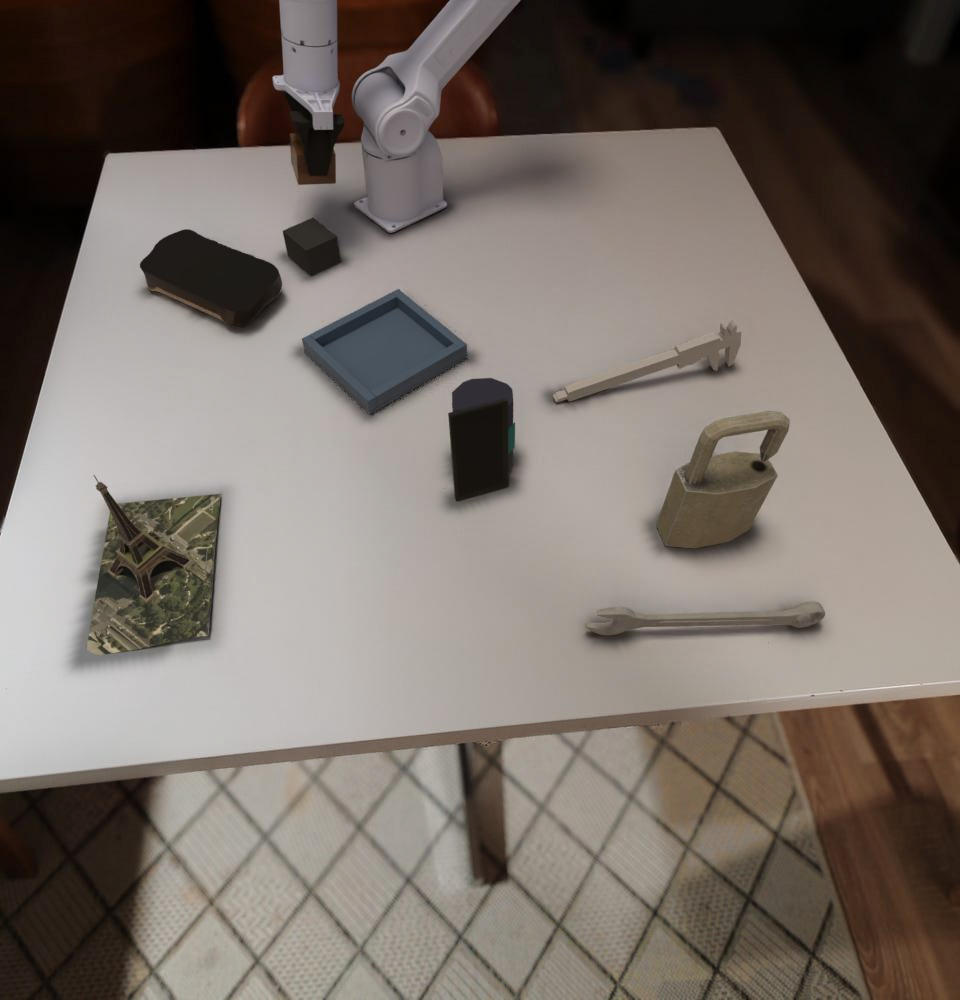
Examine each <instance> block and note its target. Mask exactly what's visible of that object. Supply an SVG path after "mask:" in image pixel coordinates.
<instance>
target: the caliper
mask: <svg viewBox="0 0 960 1000" xmlns="http://www.w3.org/2000/svg"><path fill="white" fill-rule="evenodd" d="M741 344H742V330H741V329H740V328H739V326H738V324H737V323H736V322H735V320H734V319H733V318H731V319H730V321H729V322H728V324H727V326H725V325H724V324H723V323H722V322H720V325H719V331H718V333H717V332H716V331H714V332H710V333H708V334H705V335H702V336H699V337H696V338H694V339H691V340H688V341H684V342H682V343H680V344H676V345H675V346H674V348H672V349H669V350H667V351H664V352H661V353H658V354H655V355H652V356H649V357H646V358H644V359H640V360H638V361H635V362H631V363H628V364H626V365H623V366H619V367H616V368H614V369H612V370H611V369H610V370H608V371H605V372H602V373H599V374H596V375H593V376H591V377H588V378H584V379H581V380H579V381H576V382H572V383H570V384H567V385H564V388H563V389H561V390H559V391H556V392H555V393H553V394H552V398H553V399H554V401H555V403H560V402H563V401H566V400H567V401H568V402H572V401H575V400H578V399H581V398H585V397H587V396H590V395H593V394H595V393H598V392H602V391H605V390H608V389H610V388H613V387H616V386H619V385H621V384H624V383H628V382H630V381H633V380H636V379H640V378H643V377H645V376H648V375H651V374H654V373H657V372H660V371H663V370H666V369H669V368H672V367H675V366H676V367H677V368H678V369H679V370H681V369H683V368H685V367H687V366H692V365H695V364H696V363H698V362H700V361H701V360H703V359H705V358H706V359H707V362H708V364H709V366H710V367H711V369H712V370H713V371H715V372H716V371H717V372H718V370H719V364H720V351H721V350H724V362H725V364H726V365H727V366H728V367H732V365H733V364H734V363H735V360H736V358H737V356H738V353H739V350H740V348H741Z"/></svg>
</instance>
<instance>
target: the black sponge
mask: <svg viewBox="0 0 960 1000" xmlns="http://www.w3.org/2000/svg"><path fill="white" fill-rule="evenodd" d="M139 268H140V269H141V271H142V272H143V276H144V278H145V282H146V286H147V288H148V289H149V290H150V291H151V292H158V293H161V294H163V295H165V296H167V297H168V298H172V299H174V300H176V301H179V302H181V303H182V304H186V305H188V306H190V307H192V308H194V309H196V310H198V311H201V312H203V313H205V314H208V315H210V316H212V317H215V318H216V319H219V320H221V321H222V322H223V323H224V324H225V325H226V326H228V327H232V328H236V329H243V328H246V327H247V326H249V325H250V324H251V323H252V322H253V321H254V320H255V319H256V318H257V317H258V316H259V315H260V313H261V312H262V310H264V308H265V307H266V306H267V305H269V304H270V303H271V302H272V301H274V299H276V298H277V297H279V296H280V295H281V292H282V290H283V289H282V288H283V281H282V277H281V274H280V271H279V269H278V267H277V266H276V265H275V264H273V263H271V262H270V261H267V260H265V259H262V258H259V257H256V256H254V255H252V254H249V253H246V252H242V251H240V250H239V249H235V248H232V247H230V246H227V245H225V244H223V243H219V242H218V241H216V240H214V239H210V238H207V237H205V236H204V235H202V234H199V233H197V232H196V231H194V230H192V229H190V228H189V229H188V228H187V229H186V228H185V229H181V230H178V231H175V232H173V233H170V234H167V235H166V236H164V237H163V238H161V239H160V240H159V241H158V242H156V244H154V246H153V248H152V250H151V251H150V252H149V254H147V255H146V256H145V257H144V258H142V260H140V263H139Z"/></svg>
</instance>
